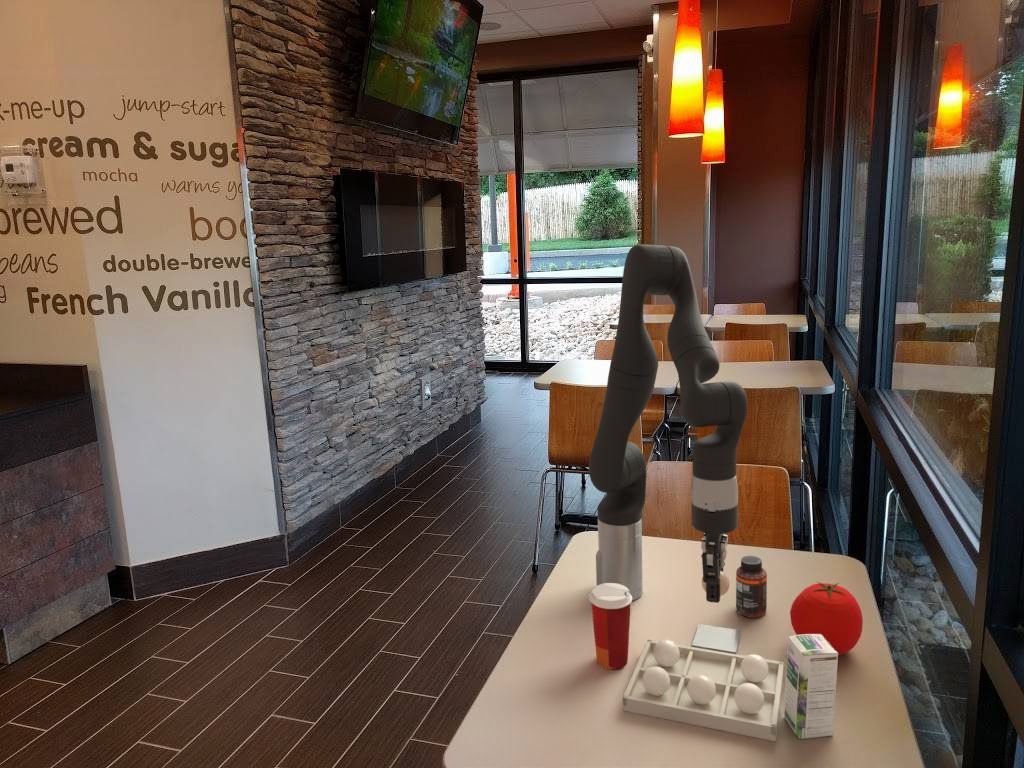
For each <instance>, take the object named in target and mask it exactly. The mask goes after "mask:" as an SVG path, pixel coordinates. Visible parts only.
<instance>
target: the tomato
mask: <svg viewBox="0 0 1024 768" xmlns="http://www.w3.org/2000/svg"><path fill="white" fill-rule="evenodd" d="M839 584H840V583H839V582H838V583H837V582H836V583H828V582H826V583H825V582H819V581H817V583H813V584H811V585H809V586H807V587H806V588H804V589H803V590H802V591H801V592H800V593H799V594H798V595H797V596H796V597H795V599H794V600H793V602H792V605H791V607H790V610H789V615H790V623H791V627H792V629H793V631H794V633H795V635H802V634H821V635H822V636H823V637H824V638H825V639H826V640H827V641H828V642H829V643H830V645H831V646H832V647H833V649H834V650H835V651H837V652H838V656H839V655H840V656H841V655H844V654H845V653H847V652H850V651H851V650H852V649H854V647H856V645H857V643H858V642H859V640H860V638H861V636H862V632H863V621H864V620H863V612H862V609H861V608H860V607H861V606H860V605H859V602H858V601H857V599H856V597H855V596H854V595H853V594H852V593H851V592H850V591H849V590H848V589H846V588H844V587H843V586H840V585H839Z"/></svg>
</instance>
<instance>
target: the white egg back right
mask: <svg viewBox="0 0 1024 768" xmlns="http://www.w3.org/2000/svg"><path fill="white" fill-rule="evenodd" d="M745 656H746V657H744V658H743V660H742V662H741V666H740V668H741V672H742V675H743V676H744V677H745V678H746V679H747V680H748V681H750V682H754V683H758V682H762V681H763V680H765V678H766V677H767V675H768V672H769V668H768V664H767V662H766V661H765V659H766V658H764V657H763V656H761V655H759V654H756V653H750V654H747V655H745Z"/></svg>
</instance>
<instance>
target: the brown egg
mask: <svg viewBox="0 0 1024 768" xmlns="http://www.w3.org/2000/svg"><path fill="white" fill-rule="evenodd" d="M709 574H712V575H715V574H714V573H709ZM730 584H731V583H730V580H729V577H728V575H727V573H726V572H724V570H723V571H721V581H720V597H723V596H724V595H725V594H727V593H728V591H729V589H730ZM701 587H702V589H703V591H704V592H705V593H706V583H704V582H703V577H702V578H701Z"/></svg>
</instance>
